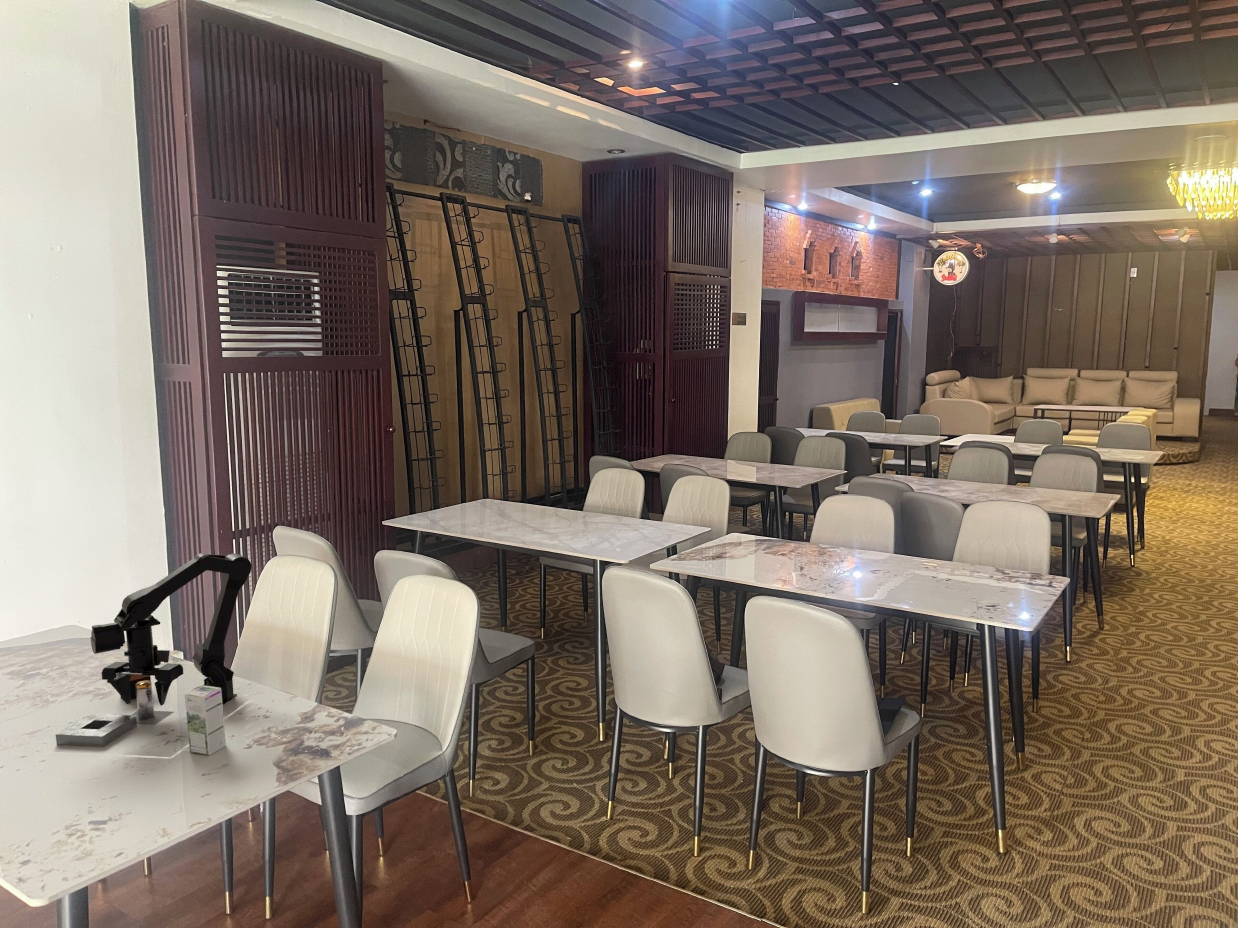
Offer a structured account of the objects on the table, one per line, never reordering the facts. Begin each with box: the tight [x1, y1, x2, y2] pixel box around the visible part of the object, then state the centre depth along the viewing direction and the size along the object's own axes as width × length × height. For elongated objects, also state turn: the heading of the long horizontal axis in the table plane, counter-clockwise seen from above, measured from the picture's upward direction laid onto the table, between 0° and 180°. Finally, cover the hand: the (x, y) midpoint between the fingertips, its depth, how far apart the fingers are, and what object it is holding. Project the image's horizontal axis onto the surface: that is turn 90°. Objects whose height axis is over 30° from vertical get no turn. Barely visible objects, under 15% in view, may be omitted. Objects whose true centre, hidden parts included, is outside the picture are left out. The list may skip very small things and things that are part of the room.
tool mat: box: [130, 710, 174, 726], centre depth 227 cm, size 10×8×1 cm
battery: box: [120, 671, 152, 701], centre depth 241 cm, size 4×7×10 cm, turn 133°
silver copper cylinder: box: [135, 680, 155, 720], centre depth 227 cm, size 4×4×9 cm
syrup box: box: [184, 684, 227, 756], centre depth 208 cm, size 6×6×14 cm
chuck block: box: [55, 713, 138, 748], centre depth 217 cm, size 12×12×3 cm
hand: (145, 704), depth 227 cm, fingers open, 9 cm apart
